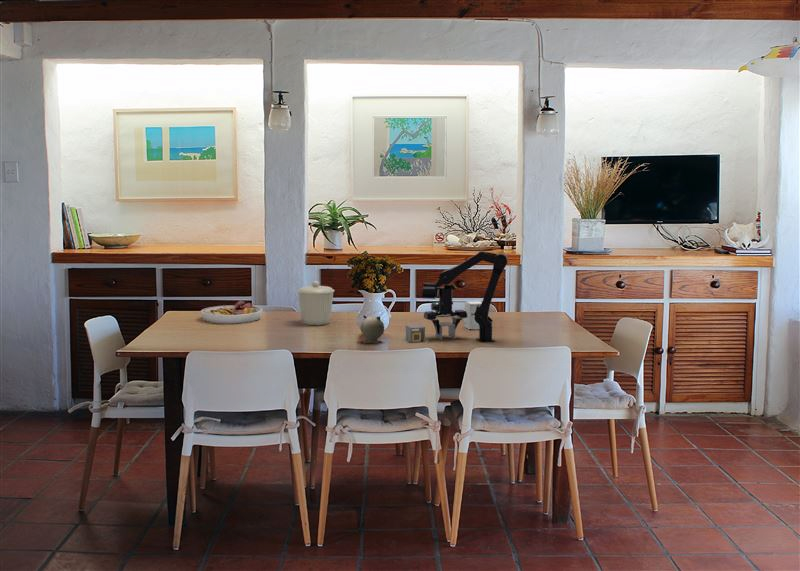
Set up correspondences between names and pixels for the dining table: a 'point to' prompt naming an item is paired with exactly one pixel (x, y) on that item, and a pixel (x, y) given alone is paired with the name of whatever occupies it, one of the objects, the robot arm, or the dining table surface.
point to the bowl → (232, 313)
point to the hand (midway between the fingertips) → (445, 333)
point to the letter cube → (416, 336)
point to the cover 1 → (409, 332)
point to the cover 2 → (450, 332)
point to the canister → (315, 304)
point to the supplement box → (471, 314)
